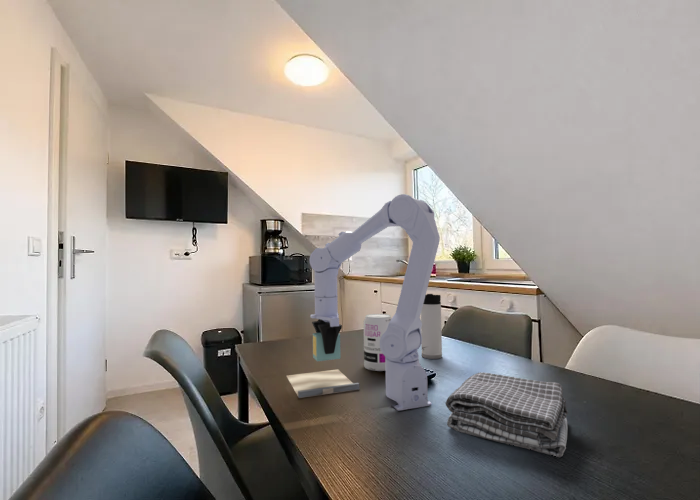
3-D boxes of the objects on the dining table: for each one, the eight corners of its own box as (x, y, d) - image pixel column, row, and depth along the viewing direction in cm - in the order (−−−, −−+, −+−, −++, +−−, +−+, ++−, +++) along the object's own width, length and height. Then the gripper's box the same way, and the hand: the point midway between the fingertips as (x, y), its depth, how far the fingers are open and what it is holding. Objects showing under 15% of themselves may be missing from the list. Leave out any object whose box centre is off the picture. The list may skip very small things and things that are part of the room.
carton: (340, 358, 86) (340, 334, 87) (316, 361, 84) (316, 336, 84) (335, 354, 90) (335, 331, 90) (312, 357, 88) (312, 333, 88)
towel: (470, 403, 74) (469, 366, 75) (572, 426, 64) (570, 382, 64) (444, 432, 62) (443, 387, 62) (565, 466, 51) (563, 412, 52)
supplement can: (393, 365, 101) (392, 313, 102) (394, 374, 93) (393, 318, 93) (365, 365, 102) (364, 313, 102) (363, 374, 94) (362, 317, 94)
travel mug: (420, 358, 108) (419, 293, 109) (422, 353, 114) (421, 292, 115) (441, 360, 106) (440, 294, 107) (442, 354, 112) (441, 292, 113)
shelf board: (359, 393, 80) (359, 384, 80) (299, 402, 75) (299, 392, 75) (337, 373, 95) (337, 364, 95) (286, 379, 90) (286, 370, 90)
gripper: (304, 294, 93) (304, 346, 93) (318, 299, 80) (318, 360, 79) (329, 293, 96) (330, 343, 95) (347, 298, 82) (348, 357, 81)
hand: (326, 351), depth 87 cm, fingers closed on carton, 4 cm apart
